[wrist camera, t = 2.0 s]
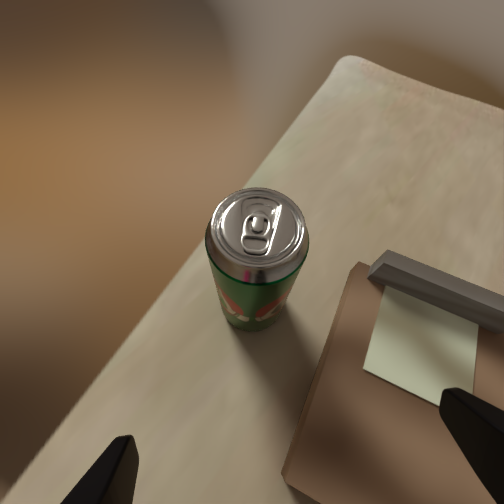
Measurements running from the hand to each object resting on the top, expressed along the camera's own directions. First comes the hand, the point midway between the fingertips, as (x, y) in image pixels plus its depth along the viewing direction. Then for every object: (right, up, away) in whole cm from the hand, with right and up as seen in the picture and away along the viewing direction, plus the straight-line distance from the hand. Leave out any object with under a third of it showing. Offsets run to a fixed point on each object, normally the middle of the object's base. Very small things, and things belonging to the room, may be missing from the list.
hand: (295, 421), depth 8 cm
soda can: (-1, 0, +15) cm, 15 cm away
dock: (+10, -6, +12) cm, 16 cm away
